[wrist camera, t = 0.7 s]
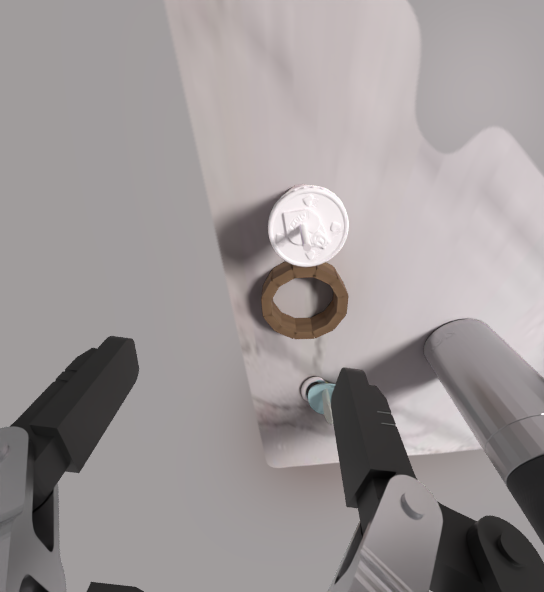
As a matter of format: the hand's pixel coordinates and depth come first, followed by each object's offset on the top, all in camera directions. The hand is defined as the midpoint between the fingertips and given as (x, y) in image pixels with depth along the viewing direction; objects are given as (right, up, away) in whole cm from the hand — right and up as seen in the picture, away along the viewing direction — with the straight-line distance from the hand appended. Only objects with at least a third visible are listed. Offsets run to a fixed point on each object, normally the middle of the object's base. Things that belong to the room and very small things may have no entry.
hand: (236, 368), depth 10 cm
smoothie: (+5, +13, +19) cm, 23 cm away
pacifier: (+9, -13, +35) cm, 38 cm away
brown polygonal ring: (+5, +3, +25) cm, 25 cm away
